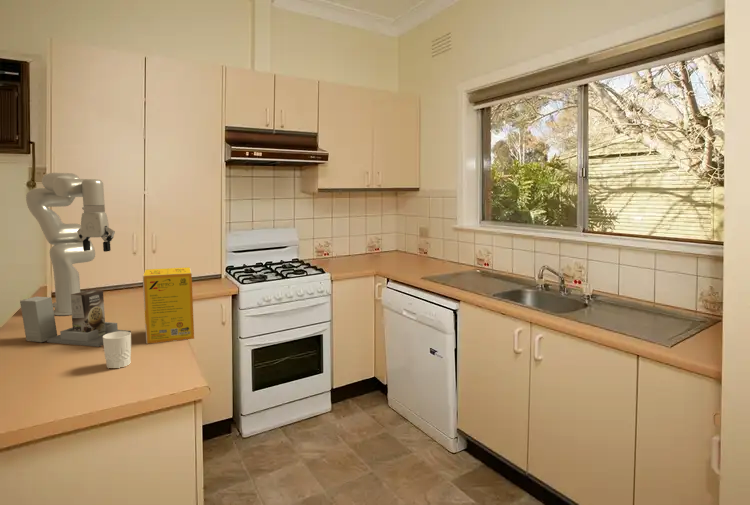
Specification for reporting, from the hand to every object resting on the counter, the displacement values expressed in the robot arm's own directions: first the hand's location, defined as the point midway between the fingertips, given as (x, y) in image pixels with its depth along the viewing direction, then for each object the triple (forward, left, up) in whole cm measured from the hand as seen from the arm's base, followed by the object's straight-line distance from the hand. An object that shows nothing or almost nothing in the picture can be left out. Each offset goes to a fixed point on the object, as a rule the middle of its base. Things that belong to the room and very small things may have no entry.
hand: (97, 250), depth 194 cm
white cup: (+44, -42, -31) cm, 68 cm away
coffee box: (+13, -20, -29) cm, 38 cm away
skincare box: (-3, -26, -31) cm, 40 cm away
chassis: (+13, -20, -30) cm, 39 cm away
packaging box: (+40, -10, -31) cm, 51 cm away
